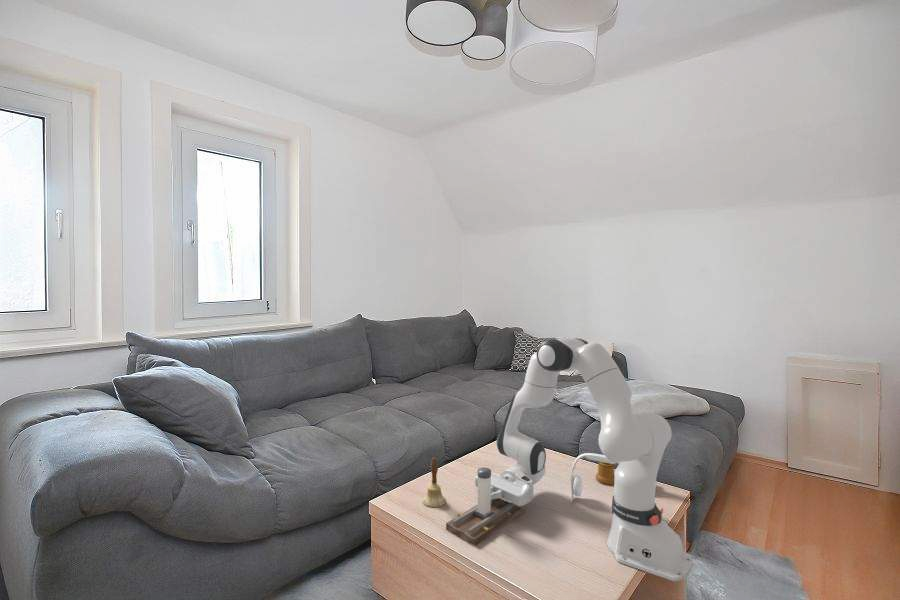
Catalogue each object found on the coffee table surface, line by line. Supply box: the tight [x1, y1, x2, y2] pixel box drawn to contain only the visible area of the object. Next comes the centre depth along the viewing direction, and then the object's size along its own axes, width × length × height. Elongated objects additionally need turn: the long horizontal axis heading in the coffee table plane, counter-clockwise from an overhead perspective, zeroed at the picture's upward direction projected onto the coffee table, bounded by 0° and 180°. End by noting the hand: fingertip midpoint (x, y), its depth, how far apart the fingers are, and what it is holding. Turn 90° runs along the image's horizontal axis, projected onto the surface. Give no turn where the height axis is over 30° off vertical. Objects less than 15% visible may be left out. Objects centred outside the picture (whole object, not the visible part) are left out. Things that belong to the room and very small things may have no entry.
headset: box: [570, 452, 620, 504], centre depth 152 cm, size 20×7×18 cm, turn 64°
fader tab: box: [475, 467, 494, 519], centre depth 142 cm, size 5×4×15 cm
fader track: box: [445, 498, 523, 547], centre depth 142 cm, size 12×24×4 cm, turn 136°
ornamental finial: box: [595, 461, 615, 486], centre depth 169 cm, size 8×8×8 cm
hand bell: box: [421, 457, 447, 508], centre depth 154 cm, size 8×8×16 cm
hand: (487, 496), depth 143 cm, fingers closed, pressing on fader tab
